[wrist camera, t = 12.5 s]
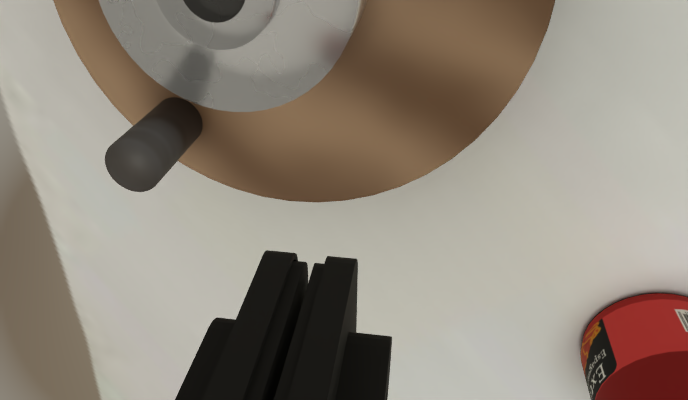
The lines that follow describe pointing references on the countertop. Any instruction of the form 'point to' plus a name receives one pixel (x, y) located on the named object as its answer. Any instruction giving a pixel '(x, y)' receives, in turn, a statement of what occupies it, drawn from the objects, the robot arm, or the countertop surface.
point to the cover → (234, 46)
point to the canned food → (638, 349)
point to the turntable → (329, 102)
